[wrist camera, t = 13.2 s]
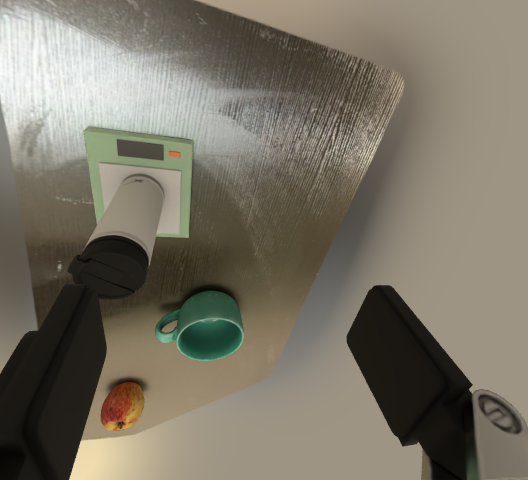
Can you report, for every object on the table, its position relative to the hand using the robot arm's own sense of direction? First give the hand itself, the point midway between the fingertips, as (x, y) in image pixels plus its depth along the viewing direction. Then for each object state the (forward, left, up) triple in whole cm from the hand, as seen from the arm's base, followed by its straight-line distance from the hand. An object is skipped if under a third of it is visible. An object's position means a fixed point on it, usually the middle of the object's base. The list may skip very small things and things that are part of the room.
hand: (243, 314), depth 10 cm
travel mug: (+12, -9, -36) cm, 39 cm away
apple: (+66, -15, -38) cm, 78 cm away
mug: (+38, +1, -38) cm, 54 cm away
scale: (+12, -9, -38) cm, 41 cm away
